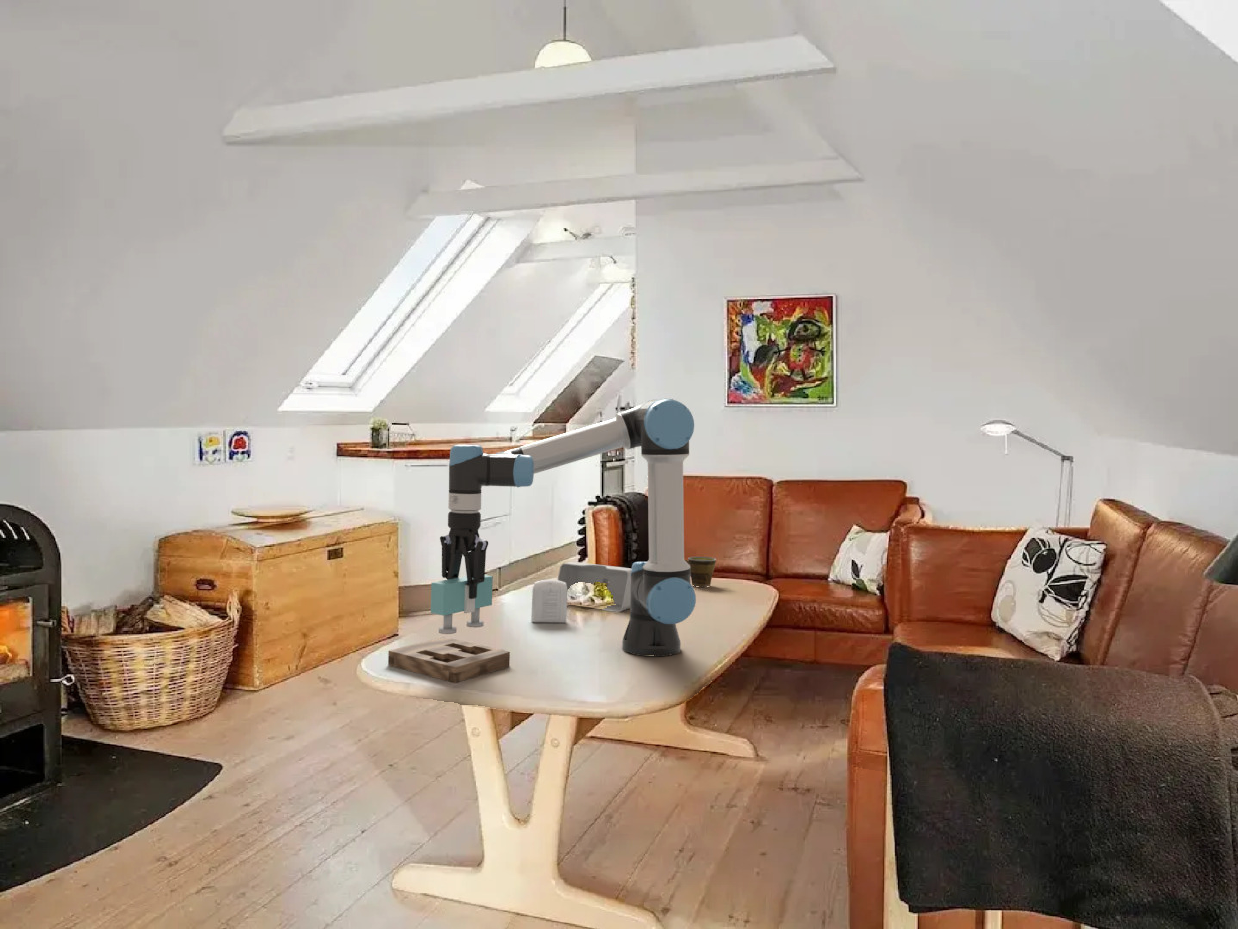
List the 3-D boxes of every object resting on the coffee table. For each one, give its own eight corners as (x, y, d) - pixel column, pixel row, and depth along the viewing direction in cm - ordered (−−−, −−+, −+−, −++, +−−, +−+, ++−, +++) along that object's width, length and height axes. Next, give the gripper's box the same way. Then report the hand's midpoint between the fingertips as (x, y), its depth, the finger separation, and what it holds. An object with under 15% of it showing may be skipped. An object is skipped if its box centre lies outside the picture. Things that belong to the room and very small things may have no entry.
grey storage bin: (644, 604, 294) (645, 566, 294) (621, 613, 280) (622, 572, 280) (577, 595, 306) (578, 558, 305) (552, 603, 292) (553, 564, 291)
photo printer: (566, 620, 268) (567, 578, 267) (567, 623, 263) (568, 581, 263) (531, 620, 266) (532, 578, 266) (531, 623, 262) (532, 581, 261)
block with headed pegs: (491, 624, 218) (492, 576, 217) (442, 636, 205) (443, 584, 204) (479, 621, 220) (480, 574, 220) (430, 633, 207) (431, 582, 207)
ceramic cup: (715, 584, 334) (716, 557, 333) (714, 589, 324) (715, 561, 323) (680, 582, 335) (681, 555, 335) (678, 587, 325) (679, 559, 325)
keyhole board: (509, 666, 216) (509, 651, 216) (455, 683, 202) (455, 667, 202) (443, 650, 229) (444, 636, 229) (388, 665, 214) (388, 650, 214)
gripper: (426, 509, 213) (424, 607, 214) (480, 515, 203) (477, 618, 204) (450, 507, 219) (447, 603, 220) (502, 513, 209) (500, 613, 211)
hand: (462, 610), depth 212 cm, fingers closed on block with headed pegs, 4 cm apart
